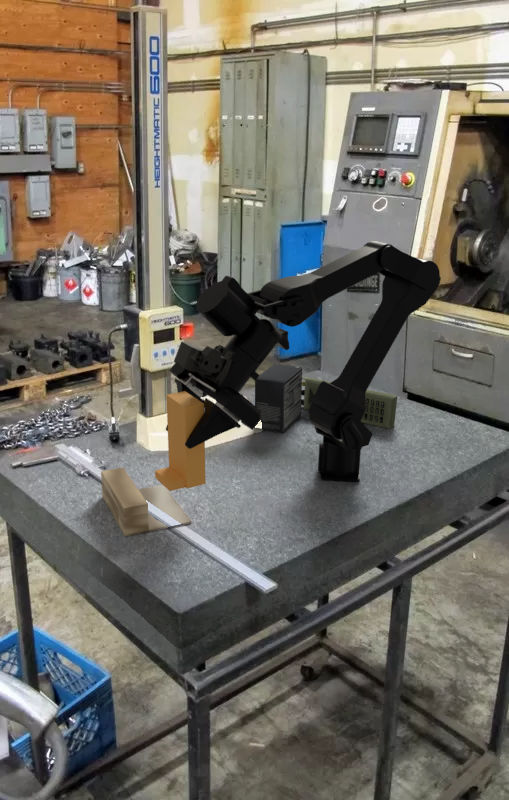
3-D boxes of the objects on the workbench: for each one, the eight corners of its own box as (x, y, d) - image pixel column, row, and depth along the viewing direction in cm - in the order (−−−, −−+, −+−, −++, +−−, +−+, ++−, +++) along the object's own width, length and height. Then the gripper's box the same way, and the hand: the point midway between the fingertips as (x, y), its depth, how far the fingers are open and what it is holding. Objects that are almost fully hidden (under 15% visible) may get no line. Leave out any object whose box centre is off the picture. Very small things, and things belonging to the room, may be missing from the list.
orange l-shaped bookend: (187, 468, 116) (185, 391, 112) (205, 483, 111) (203, 403, 107) (153, 476, 113) (150, 397, 109) (171, 492, 108) (168, 410, 104)
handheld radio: (389, 431, 147) (277, 405, 160) (395, 426, 150) (285, 401, 162) (392, 398, 145) (279, 374, 158) (399, 394, 148) (287, 371, 160)
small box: (272, 410, 156) (273, 361, 153) (302, 415, 154) (304, 366, 150) (252, 428, 147) (253, 376, 143) (283, 434, 145) (285, 381, 141)
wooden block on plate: (163, 486, 123) (163, 460, 121) (191, 523, 112) (191, 495, 110) (102, 497, 119) (101, 471, 117) (124, 536, 108) (123, 508, 106)
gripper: (179, 307, 114) (114, 389, 113) (241, 337, 99) (167, 432, 98) (225, 350, 121) (164, 428, 119) (290, 384, 106) (221, 474, 104)
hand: (177, 439), depth 110 cm, fingers closed on orange l-shaped bookend, 6 cm apart
